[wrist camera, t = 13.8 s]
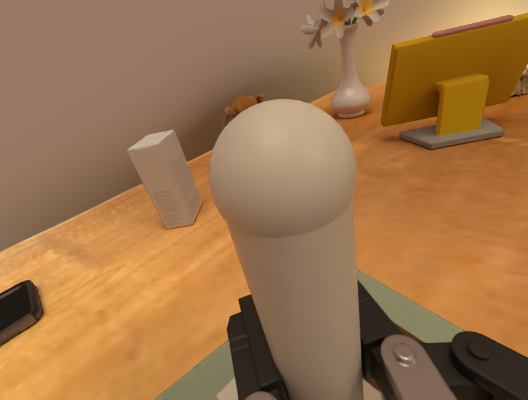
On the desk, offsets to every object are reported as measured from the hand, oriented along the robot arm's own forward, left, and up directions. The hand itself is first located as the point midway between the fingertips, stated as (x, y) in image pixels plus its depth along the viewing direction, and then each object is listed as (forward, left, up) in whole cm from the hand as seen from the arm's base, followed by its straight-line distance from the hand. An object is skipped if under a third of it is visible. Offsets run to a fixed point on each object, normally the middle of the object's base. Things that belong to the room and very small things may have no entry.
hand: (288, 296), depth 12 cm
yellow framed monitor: (-11, +44, -10) cm, 47 cm away
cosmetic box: (-29, +3, -10) cm, 31 cm away
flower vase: (-37, +51, -10) cm, 64 cm away
